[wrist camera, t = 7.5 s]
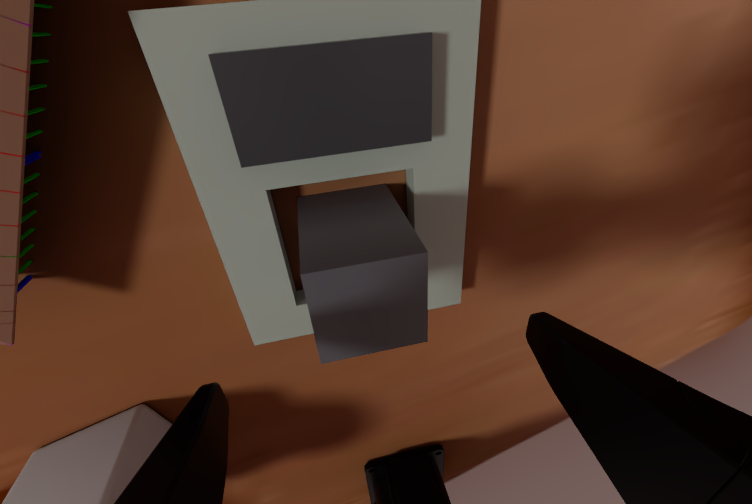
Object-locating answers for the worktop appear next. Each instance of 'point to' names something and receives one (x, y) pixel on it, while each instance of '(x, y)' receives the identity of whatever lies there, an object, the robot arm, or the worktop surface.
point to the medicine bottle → (90, 461)
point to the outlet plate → (317, 124)
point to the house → (14, 150)
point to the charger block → (361, 272)
